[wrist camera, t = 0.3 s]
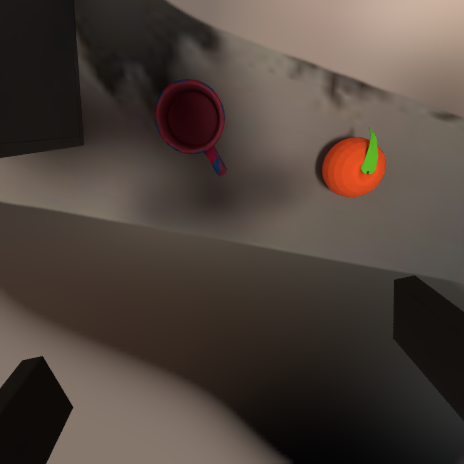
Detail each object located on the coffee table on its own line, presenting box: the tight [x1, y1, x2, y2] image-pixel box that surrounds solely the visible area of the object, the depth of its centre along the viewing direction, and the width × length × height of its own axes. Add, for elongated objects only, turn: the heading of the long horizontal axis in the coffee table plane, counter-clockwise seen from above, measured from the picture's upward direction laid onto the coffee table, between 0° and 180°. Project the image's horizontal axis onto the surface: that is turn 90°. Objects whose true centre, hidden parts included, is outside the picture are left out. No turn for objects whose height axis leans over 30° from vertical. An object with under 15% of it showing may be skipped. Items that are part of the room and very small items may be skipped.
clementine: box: [322, 128, 386, 197], centre depth 33 cm, size 8×7×7 cm
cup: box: [155, 79, 227, 176], centre depth 31 cm, size 7×10×7 cm
